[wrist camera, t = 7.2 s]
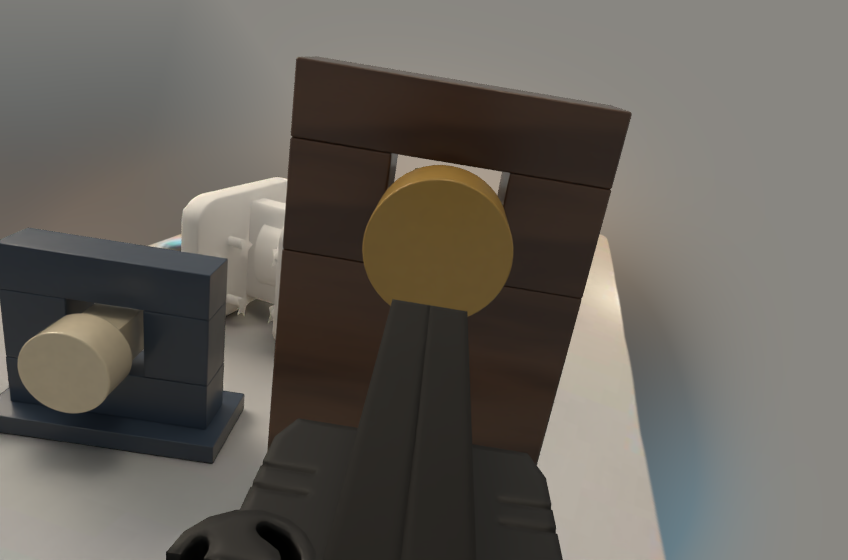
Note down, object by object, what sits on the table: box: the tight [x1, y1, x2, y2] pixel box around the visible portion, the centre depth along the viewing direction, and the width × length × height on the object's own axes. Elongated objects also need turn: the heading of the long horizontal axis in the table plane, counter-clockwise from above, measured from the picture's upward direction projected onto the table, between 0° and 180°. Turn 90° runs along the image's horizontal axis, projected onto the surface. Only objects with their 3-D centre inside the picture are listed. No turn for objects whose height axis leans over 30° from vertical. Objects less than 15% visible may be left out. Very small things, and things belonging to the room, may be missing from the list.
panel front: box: [267, 57, 631, 465], centre depth 27 cm, size 6×14×24 cm, turn 87°
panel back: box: [0, 228, 244, 463], centre depth 37 cm, size 6×14×12 cm, turn 88°
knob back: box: [18, 303, 144, 413], centre depth 34 cm, size 6×5×5 cm
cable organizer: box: [181, 177, 287, 340], centre depth 54 cm, size 15×11×12 cm
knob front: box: [362, 165, 513, 316], centre depth 22 cm, size 6×5×5 cm
